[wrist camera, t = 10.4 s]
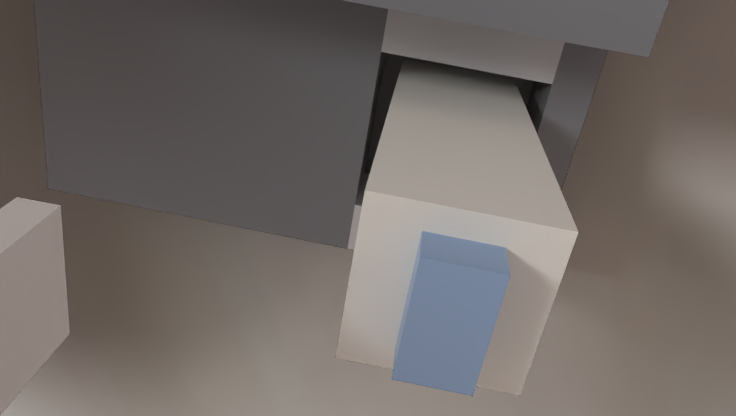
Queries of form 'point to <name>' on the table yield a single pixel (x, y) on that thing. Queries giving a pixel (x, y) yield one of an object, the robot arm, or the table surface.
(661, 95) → the table surface
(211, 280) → the table surface
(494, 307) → the cream long block
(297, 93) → the grey socket holder
